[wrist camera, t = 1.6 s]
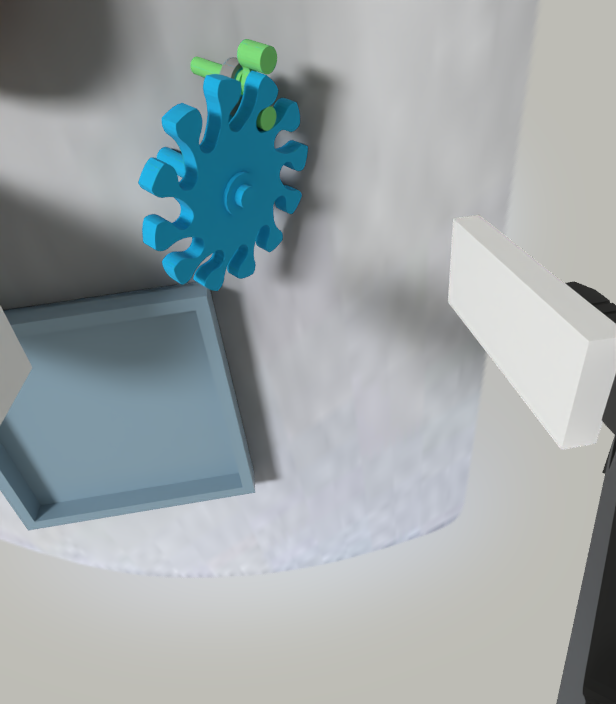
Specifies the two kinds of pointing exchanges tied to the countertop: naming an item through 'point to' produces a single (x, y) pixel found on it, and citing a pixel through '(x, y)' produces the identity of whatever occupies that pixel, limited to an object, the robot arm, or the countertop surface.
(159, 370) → the tray
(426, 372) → the countertop surface
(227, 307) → the countertop surface
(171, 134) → the gear
